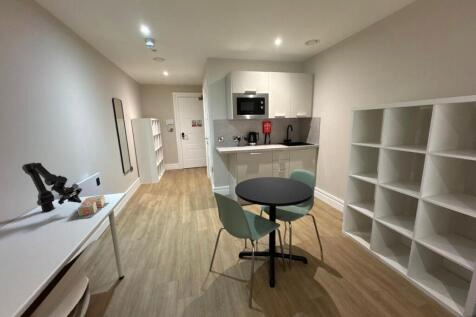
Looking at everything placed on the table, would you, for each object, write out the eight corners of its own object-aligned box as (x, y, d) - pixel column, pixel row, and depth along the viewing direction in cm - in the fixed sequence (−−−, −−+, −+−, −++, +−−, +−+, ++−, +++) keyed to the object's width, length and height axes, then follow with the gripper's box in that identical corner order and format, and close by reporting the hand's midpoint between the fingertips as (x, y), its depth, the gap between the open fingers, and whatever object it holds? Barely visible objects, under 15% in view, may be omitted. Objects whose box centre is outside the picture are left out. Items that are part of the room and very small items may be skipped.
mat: (71, 219, 140) (71, 219, 140) (92, 204, 163) (92, 204, 163) (90, 217, 141) (90, 217, 141) (109, 203, 164) (109, 202, 164)
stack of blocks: (79, 216, 143) (99, 212, 147) (77, 208, 141) (97, 204, 146) (87, 205, 162) (105, 201, 167) (86, 197, 161) (103, 194, 165)
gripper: (58, 186, 137) (78, 199, 140) (77, 178, 155) (95, 190, 158) (49, 198, 138) (69, 211, 141) (68, 188, 156) (86, 200, 159)
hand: (81, 202), depth 150 cm, fingers closed
